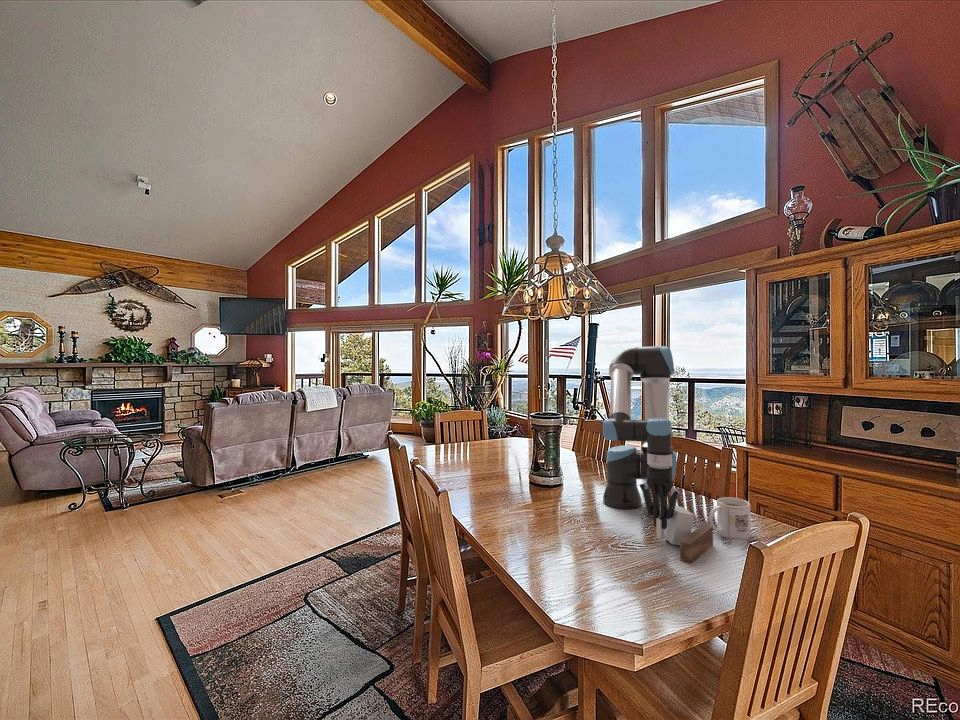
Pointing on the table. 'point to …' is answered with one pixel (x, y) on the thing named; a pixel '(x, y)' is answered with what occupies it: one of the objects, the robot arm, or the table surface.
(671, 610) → the table surface
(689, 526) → the small box
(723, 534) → the mug
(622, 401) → the robot arm
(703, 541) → the board
